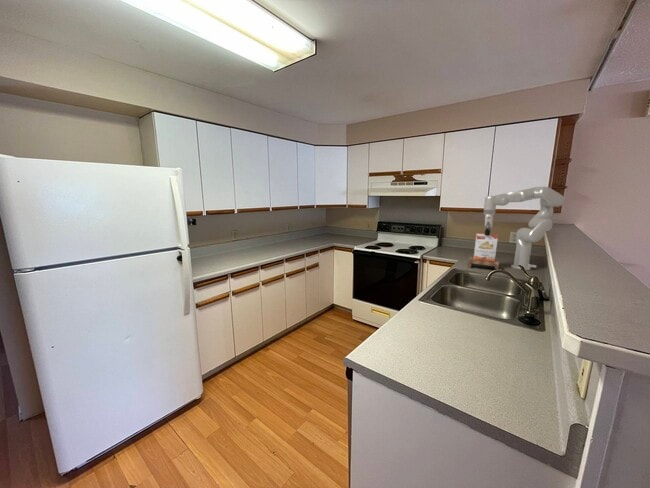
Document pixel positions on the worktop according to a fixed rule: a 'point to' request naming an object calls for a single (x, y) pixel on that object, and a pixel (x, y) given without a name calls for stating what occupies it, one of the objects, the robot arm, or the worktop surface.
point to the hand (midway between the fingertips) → (487, 234)
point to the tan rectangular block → (482, 262)
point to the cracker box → (485, 247)
